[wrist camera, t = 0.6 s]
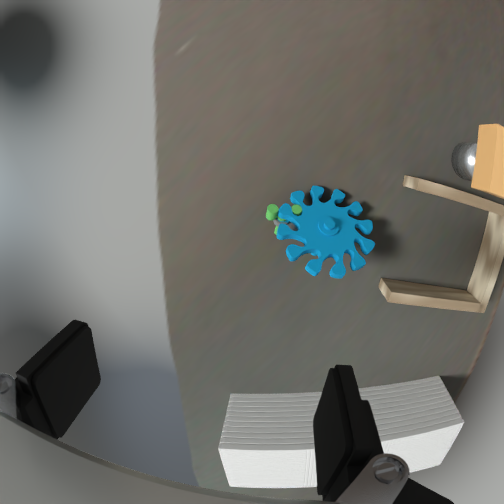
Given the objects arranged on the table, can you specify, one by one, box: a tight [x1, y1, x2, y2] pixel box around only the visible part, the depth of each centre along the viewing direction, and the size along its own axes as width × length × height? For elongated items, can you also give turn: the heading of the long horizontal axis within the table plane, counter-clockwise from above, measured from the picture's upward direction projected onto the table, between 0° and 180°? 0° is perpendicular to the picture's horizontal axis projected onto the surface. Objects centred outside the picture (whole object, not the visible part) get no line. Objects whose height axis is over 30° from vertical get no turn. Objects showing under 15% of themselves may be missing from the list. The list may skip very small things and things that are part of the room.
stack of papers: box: [218, 376, 464, 488], centre depth 37 cm, size 32×11×11 cm, turn 95°
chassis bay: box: [379, 175, 504, 313], centre depth 30 cm, size 13×15×4 cm
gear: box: [266, 186, 375, 278], centre depth 31 cm, size 11×6×10 cm
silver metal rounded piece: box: [452, 143, 477, 180], centre depth 26 cm, size 4×4×6 cm
